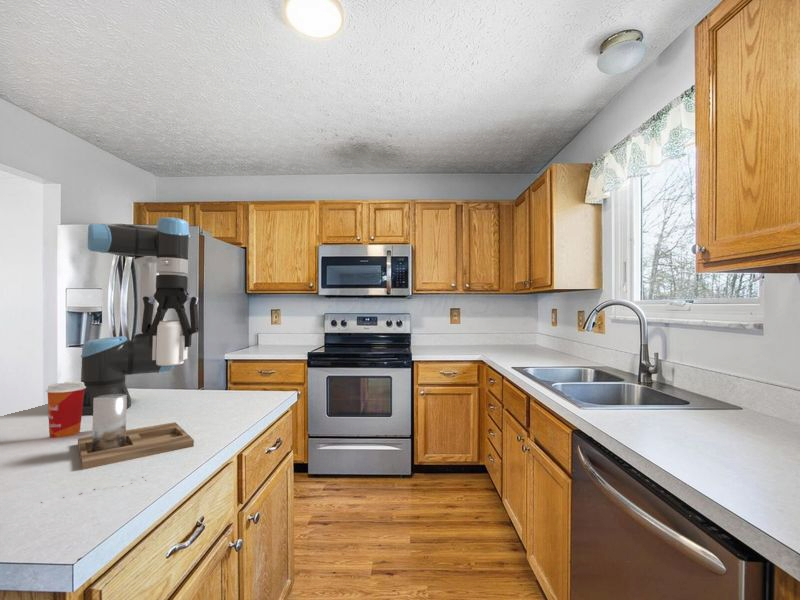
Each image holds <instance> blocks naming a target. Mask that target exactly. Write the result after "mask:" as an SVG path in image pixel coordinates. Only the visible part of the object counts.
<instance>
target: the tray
mask: <svg viewBox="0 0 800 600" xmlns="http://www.w3.org/2000/svg"><path fill="white" fill-rule="evenodd" d="M194 446H195V440H194V438H192V436H190V435H189V434H188V432H186V430H184V429H183V428H182V427H181V426H180V425H179V424H178V423H177V422H176V421H174V422H169V423H163V424H157V425H150V426H145V427H137V428H132V429H126V444H125V446H124V447H119V448H113V449H108V450H103V451H98V452H92V435H90V436H86V437H85V436H84V437H79V438H77V449H78V454H79V458H80V464H81V470H89V469H94V468H99V467H102V466H106V465H112V464H116V463H117V464H118V463H122V462H126V461H131V460H136V459H140V458H145V457H150V456H155V455H160V454H164V453H168V452H175V451H179V450H184V449H187V448H192V447H194Z"/></svg>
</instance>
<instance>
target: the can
mask: <svg viewBox="0 0 800 600" xmlns="http://www.w3.org/2000/svg"><path fill="white" fill-rule="evenodd" d="M183 334H184V332H183V329H182V326H181V323H180V320H179V319H177V320H169V319H168V320H164V321H160V322H159V324H158V326H157V348H156V364H157V365H158V366H174V367H175V366H176V367H177V366H180V365H183V364H184V362H185V361H184V360H185V359H184V360H180V350H181V336H183Z"/></svg>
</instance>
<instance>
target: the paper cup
mask: <svg viewBox="0 0 800 600" xmlns="http://www.w3.org/2000/svg"><path fill="white" fill-rule="evenodd" d="M85 388H86V386H85V385H84V382H81V381H71V382H70V381H65V382H56V383H52V384H49V385H48V387H47V389H46V391H45V392H46V393H47V409H48V411H47V413H48V415H47V416H48V432H49V433H48V435H49V438H53V439H56V438H57V439H58V438H59V439H60V438H67V437H72V436H75V435H77V434H80V433H81V424H82V417H83V415H82V408H83V398H84V389H85Z"/></svg>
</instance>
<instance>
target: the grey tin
mask: <svg viewBox="0 0 800 600" xmlns="http://www.w3.org/2000/svg"><path fill="white" fill-rule="evenodd" d="M127 409H128V408H127V395H126V394H110V395H103V396H98V397H95V398H94V400H93V415H92V431H91V432H92V435H91V436H92V452H98V451H103V450H108V449H113V448H119V447H124V446H125V444H126V430H127V411H128V410H127Z"/></svg>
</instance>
